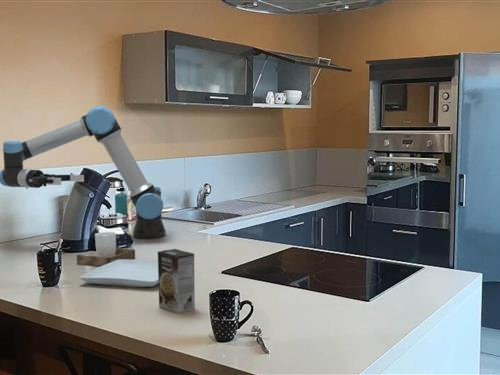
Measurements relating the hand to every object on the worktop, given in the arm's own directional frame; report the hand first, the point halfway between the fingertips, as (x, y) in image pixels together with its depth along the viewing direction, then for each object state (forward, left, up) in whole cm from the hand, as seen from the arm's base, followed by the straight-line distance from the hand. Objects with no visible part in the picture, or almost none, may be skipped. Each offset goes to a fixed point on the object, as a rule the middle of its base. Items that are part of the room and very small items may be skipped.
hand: (72, 179), depth 240 cm
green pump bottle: (-23, -64, -30) cm, 75 cm away
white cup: (-11, +20, -30) cm, 37 cm away
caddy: (-11, +20, -30) cm, 38 cm away
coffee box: (-27, +87, -30) cm, 96 cm away
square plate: (-19, +49, -31) cm, 61 cm away
